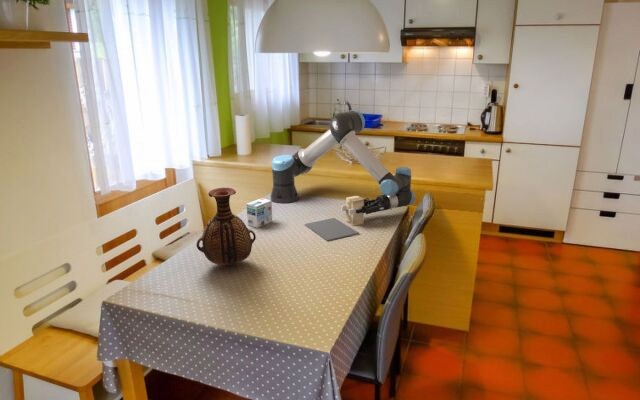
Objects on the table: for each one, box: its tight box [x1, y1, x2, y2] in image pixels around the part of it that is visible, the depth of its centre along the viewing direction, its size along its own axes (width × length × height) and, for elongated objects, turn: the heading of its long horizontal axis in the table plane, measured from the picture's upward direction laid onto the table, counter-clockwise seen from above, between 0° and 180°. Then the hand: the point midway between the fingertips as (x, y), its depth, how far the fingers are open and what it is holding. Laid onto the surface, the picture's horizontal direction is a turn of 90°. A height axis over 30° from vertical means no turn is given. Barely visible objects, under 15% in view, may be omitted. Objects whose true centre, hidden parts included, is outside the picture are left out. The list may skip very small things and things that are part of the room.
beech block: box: [345, 195, 365, 226], centre depth 220 cm, size 6×6×12 cm
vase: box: [196, 187, 257, 267], centre depth 176 cm, size 21×18×30 cm
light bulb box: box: [246, 197, 273, 229], centre depth 221 cm, size 11×7×11 cm, turn 143°
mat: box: [304, 217, 360, 242], centre depth 213 cm, size 22×16×1 cm
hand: (345, 210), depth 217 cm, fingers closed on beech block, 6 cm apart
